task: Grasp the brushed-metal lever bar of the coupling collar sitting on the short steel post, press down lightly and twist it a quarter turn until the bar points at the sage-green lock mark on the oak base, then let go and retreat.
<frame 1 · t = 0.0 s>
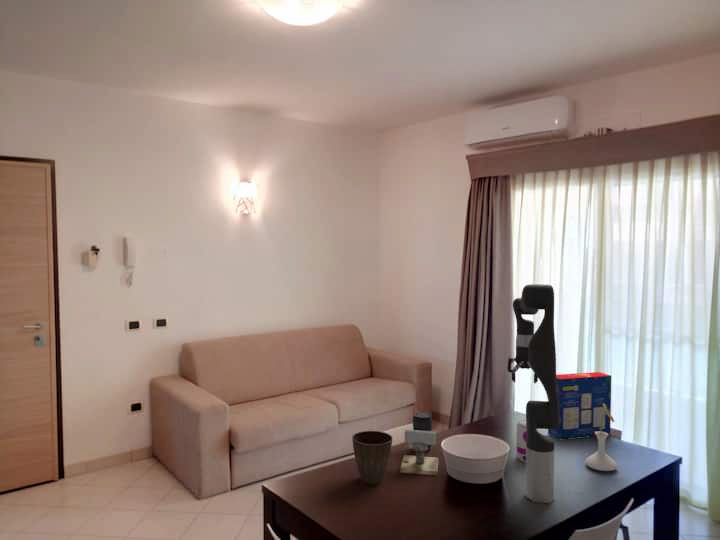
hand: (524, 382, 225), 29 cm above the table, tool pointing down, fingers open, 8 cm apart
post base: (419, 466, 207), on the table
flower in vase: (601, 467, 208), on the table
collar: (420, 440, 207), point 11 cm above the table, hinge at 0.0°
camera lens: (422, 449, 226), on the table
supplement can: (526, 459, 216), on the table
blue product box: (579, 435, 246), on the table
plant pot: (372, 480, 195), on the table
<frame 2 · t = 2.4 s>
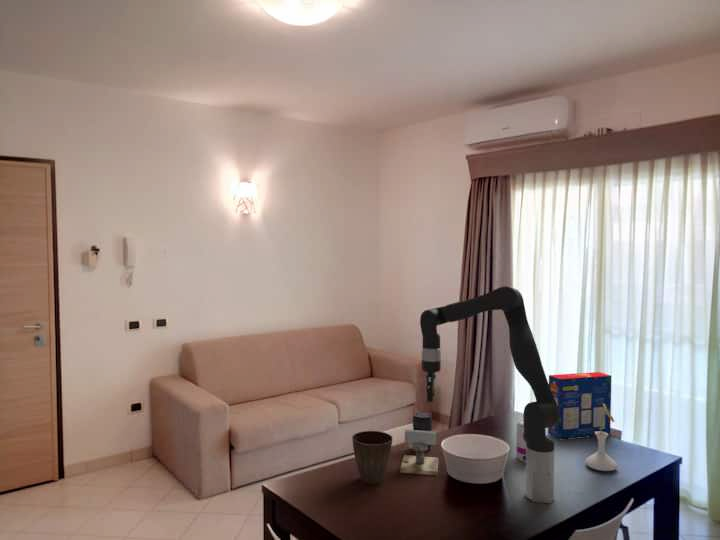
hand: (430, 399, 211), 26 cm above the table, tool pointing down, fingers open, 8 cm apart
nothing on the table moved.
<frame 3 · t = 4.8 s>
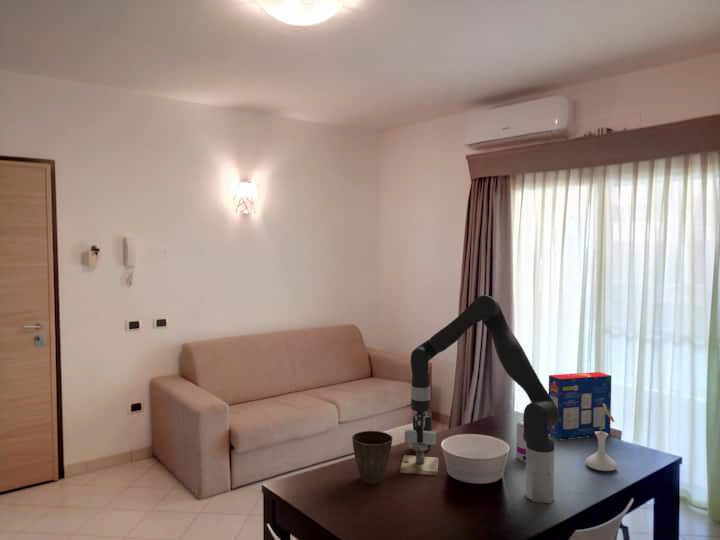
hand: (420, 440, 207), 10 cm above the table, tool pointing down, fingers closed on collar, 2 cm apart
collar: (420, 440, 207), point 11 cm above the table, hinge at 0.0°, touching gripper
everything else where it was.
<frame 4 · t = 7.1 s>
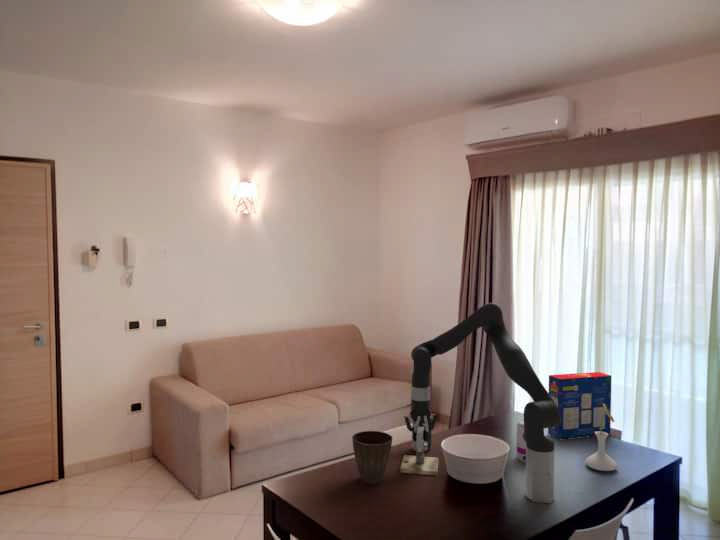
hand: (420, 440, 207), 10 cm above the table, tool pointing down, fingers closed on collar, 3 cm apart
collar: (420, 440, 207), point 11 cm above the table, hinge at 91.6°, touching gripper
everything else where it was.
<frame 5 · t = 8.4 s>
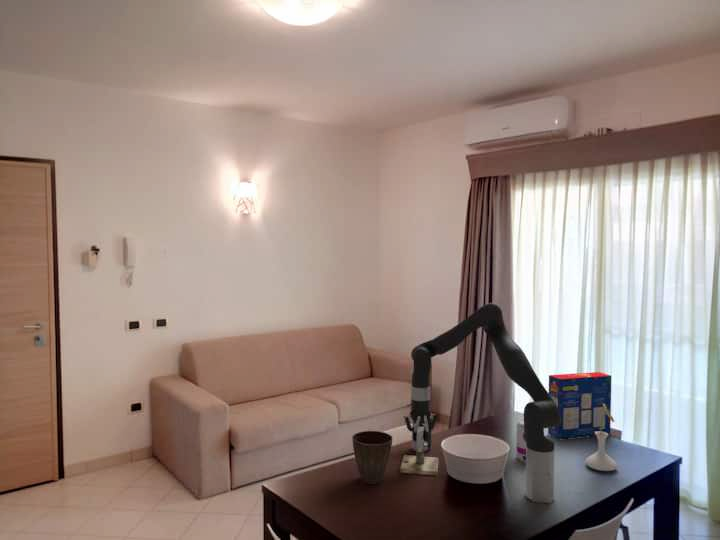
hand: (420, 440, 207), 10 cm above the table, tool pointing down, fingers closed on collar, 3 cm apart
collar: (420, 440, 207), point 11 cm above the table, hinge at 92.1°, touching gripper
everything else where it was.
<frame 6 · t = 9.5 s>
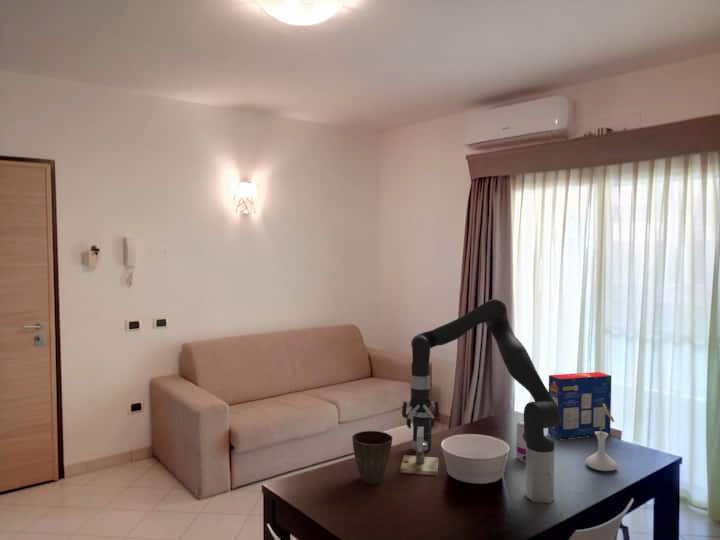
hand: (420, 427, 207), 16 cm above the table, tool pointing down, fingers open, 8 cm apart
collar: (420, 440, 207), point 11 cm above the table, hinge at 92.6°
everything else where it was.
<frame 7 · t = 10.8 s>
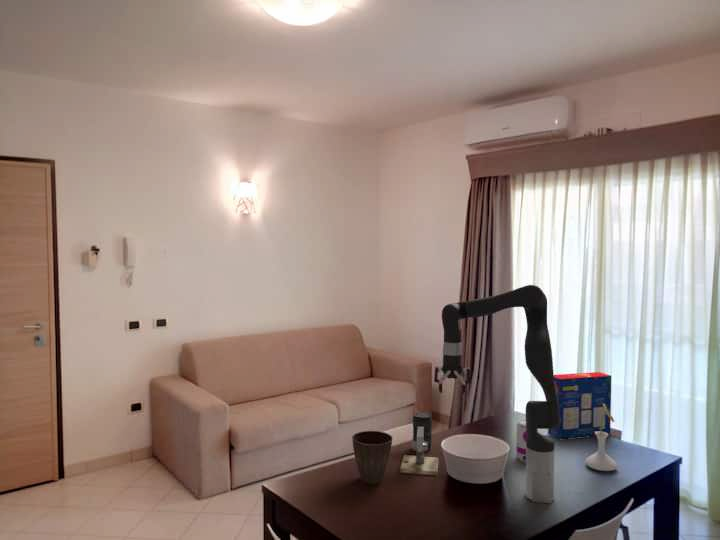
hand: (452, 393, 212), 28 cm above the table, tool pointing down, fingers open, 8 cm apart
nothing on the table moved.
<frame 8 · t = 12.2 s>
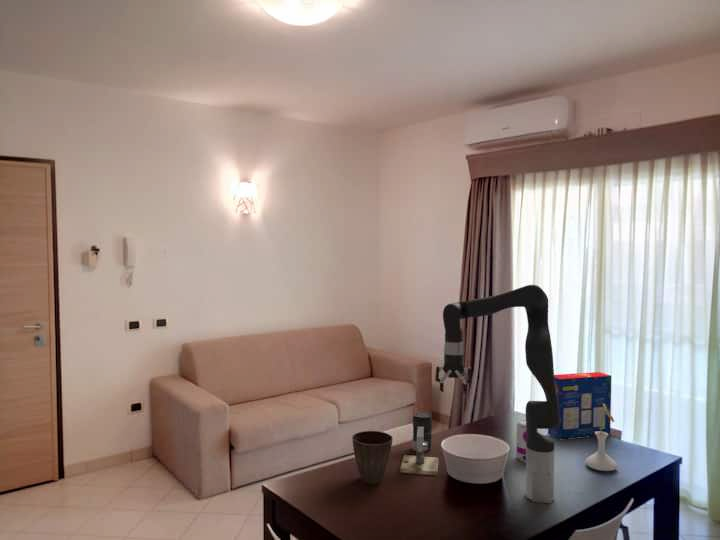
hand: (453, 392, 212), 28 cm above the table, tool pointing down, fingers open, 8 cm apart
nothing on the table moved.
at the end: collar at +93° (first picture: +0°); the gripper is holding nothing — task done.
